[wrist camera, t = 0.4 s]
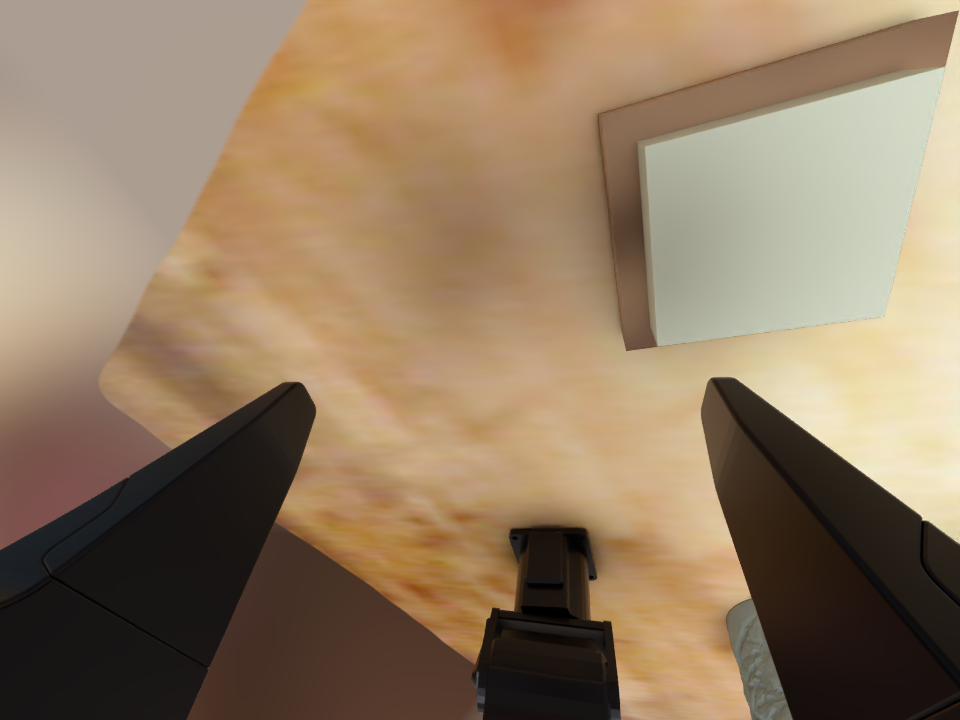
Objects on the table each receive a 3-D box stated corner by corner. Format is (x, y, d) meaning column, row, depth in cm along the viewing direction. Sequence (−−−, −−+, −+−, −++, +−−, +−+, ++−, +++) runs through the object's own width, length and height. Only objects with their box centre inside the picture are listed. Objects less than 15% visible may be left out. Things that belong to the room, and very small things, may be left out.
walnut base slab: (857, 298, 20) (883, 316, 18) (622, 332, 23) (626, 350, 21) (914, 20, 15) (958, 10, 13) (598, 114, 18) (601, 116, 16)
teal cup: (741, 579, 33) (817, 788, 23) (883, 602, 31) (1029, 836, 21) (703, 638, 38) (751, 827, 28) (822, 660, 37) (916, 867, 27)
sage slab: (855, 296, 18) (884, 316, 16) (650, 326, 20) (657, 346, 19) (900, 70, 14) (945, 66, 12) (637, 141, 16) (645, 146, 15)
